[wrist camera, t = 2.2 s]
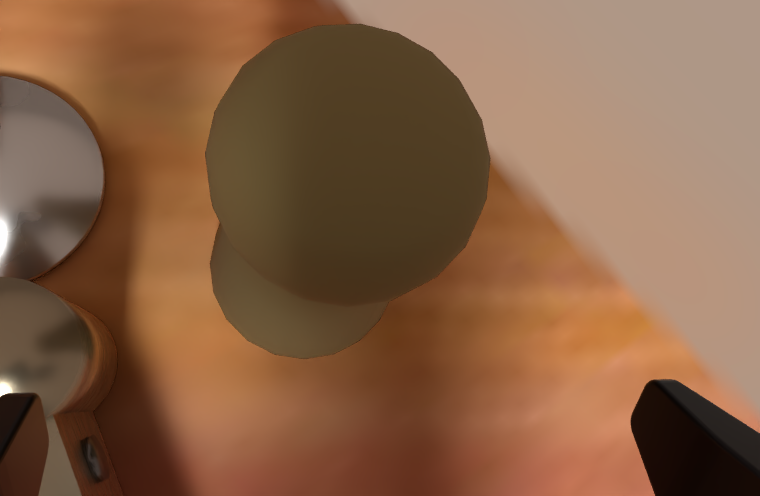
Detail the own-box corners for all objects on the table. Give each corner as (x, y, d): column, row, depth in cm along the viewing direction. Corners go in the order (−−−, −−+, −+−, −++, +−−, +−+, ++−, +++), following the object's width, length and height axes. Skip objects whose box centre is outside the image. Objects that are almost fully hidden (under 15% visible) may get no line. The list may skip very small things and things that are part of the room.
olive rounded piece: (325, 145, 22) (400, -90, 11) (430, 287, 21) (608, 181, 11) (171, 241, 20) (89, 69, 9) (282, 398, 20) (324, 399, 9)
